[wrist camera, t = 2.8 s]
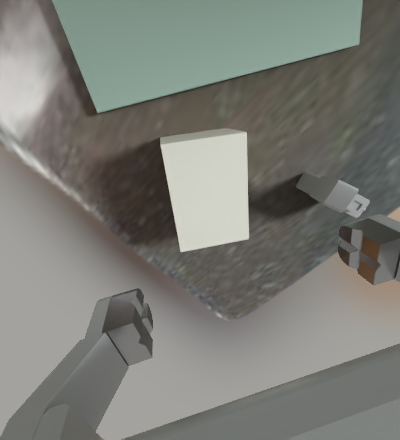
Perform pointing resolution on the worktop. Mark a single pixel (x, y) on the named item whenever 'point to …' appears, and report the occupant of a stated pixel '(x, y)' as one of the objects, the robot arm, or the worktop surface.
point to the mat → (195, 41)
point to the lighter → (333, 193)
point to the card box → (208, 186)
